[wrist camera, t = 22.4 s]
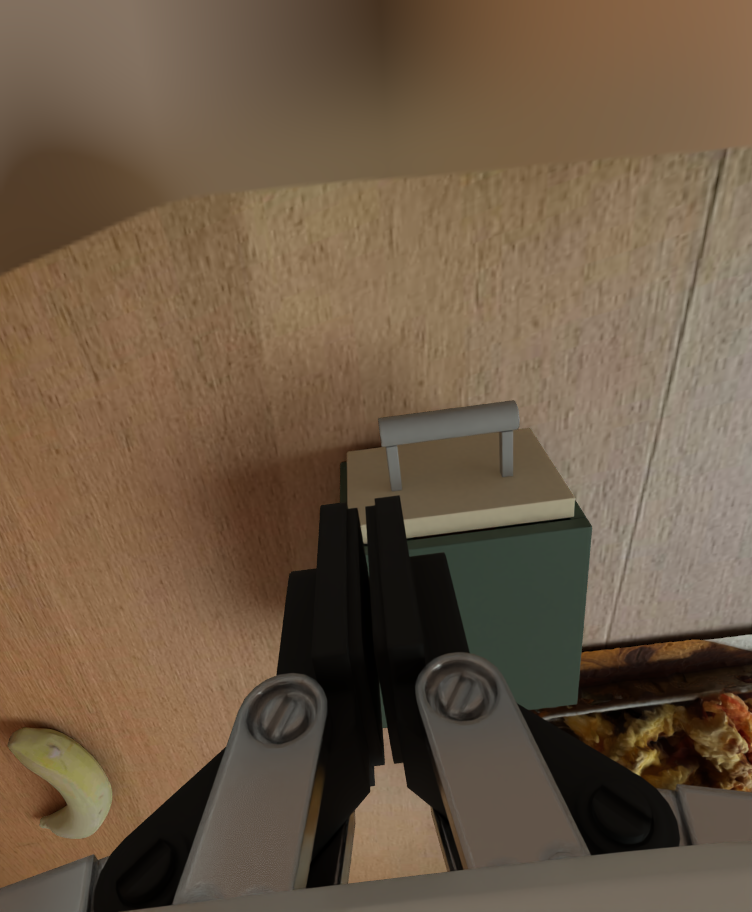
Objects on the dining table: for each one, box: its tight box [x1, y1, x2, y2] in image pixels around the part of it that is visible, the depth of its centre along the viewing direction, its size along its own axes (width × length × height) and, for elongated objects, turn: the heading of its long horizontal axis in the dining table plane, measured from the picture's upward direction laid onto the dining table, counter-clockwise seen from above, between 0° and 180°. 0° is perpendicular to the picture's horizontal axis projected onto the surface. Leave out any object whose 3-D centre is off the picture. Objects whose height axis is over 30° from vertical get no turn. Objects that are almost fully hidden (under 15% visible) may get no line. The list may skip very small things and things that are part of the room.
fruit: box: [8, 727, 112, 839], centre depth 49 cm, size 7×15×3 cm, turn 172°
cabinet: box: [340, 462, 592, 728], centre depth 35 cm, size 14×13×10 cm
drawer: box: [347, 400, 575, 544], centre depth 33 cm, size 17×11×8 cm
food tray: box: [529, 635, 752, 792], centre depth 47 cm, size 35×26×11 cm
